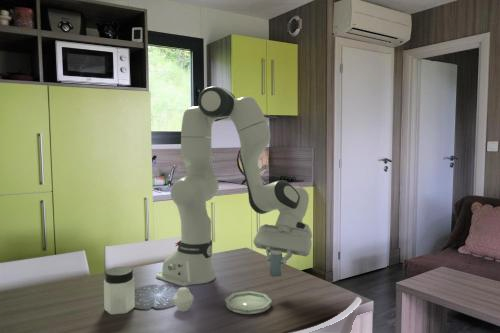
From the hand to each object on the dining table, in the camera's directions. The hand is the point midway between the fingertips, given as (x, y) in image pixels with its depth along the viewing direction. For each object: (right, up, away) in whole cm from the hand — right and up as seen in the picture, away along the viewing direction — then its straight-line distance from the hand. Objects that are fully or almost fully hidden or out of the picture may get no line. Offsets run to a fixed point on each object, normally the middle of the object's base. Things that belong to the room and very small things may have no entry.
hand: (275, 262), depth 133 cm
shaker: (0, -4, +1) cm, 4 cm away
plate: (-9, -12, -7) cm, 17 cm away
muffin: (-29, -12, -10) cm, 33 cm away
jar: (-49, -12, -10) cm, 51 cm away
